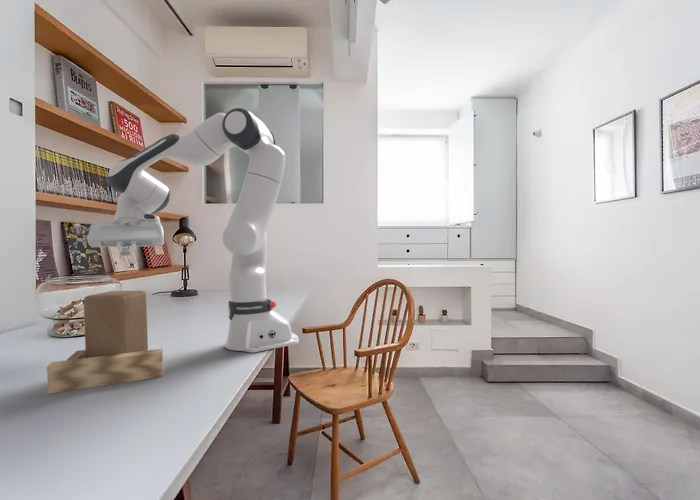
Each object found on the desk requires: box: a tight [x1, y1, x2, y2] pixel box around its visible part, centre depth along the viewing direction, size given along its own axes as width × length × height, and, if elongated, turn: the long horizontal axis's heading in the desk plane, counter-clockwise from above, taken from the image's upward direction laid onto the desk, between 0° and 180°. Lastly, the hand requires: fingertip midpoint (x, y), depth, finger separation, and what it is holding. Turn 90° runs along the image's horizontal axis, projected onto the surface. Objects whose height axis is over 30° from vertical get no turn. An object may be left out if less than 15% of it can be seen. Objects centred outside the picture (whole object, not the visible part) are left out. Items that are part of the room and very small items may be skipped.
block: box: [83, 290, 149, 358], centre depth 90 cm, size 10×10×20 cm
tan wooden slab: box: [46, 348, 164, 395], centre depth 86 cm, size 22×11×6 cm, turn 114°
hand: (125, 254), depth 105 cm, fingers closed
